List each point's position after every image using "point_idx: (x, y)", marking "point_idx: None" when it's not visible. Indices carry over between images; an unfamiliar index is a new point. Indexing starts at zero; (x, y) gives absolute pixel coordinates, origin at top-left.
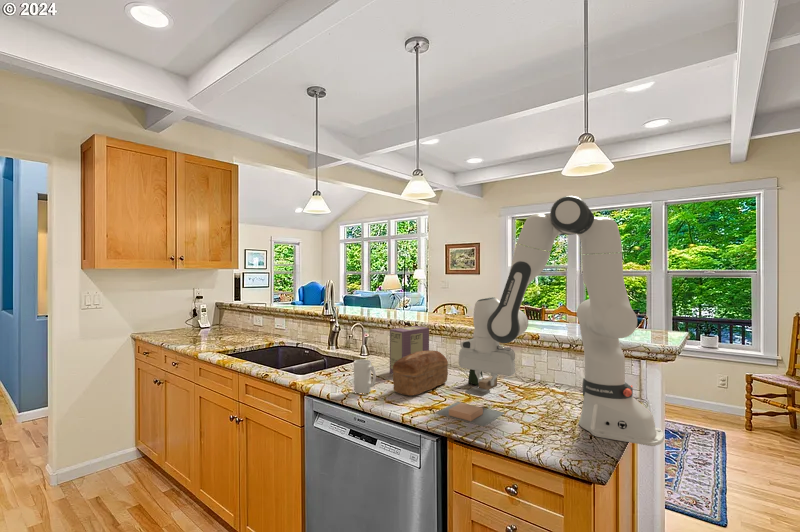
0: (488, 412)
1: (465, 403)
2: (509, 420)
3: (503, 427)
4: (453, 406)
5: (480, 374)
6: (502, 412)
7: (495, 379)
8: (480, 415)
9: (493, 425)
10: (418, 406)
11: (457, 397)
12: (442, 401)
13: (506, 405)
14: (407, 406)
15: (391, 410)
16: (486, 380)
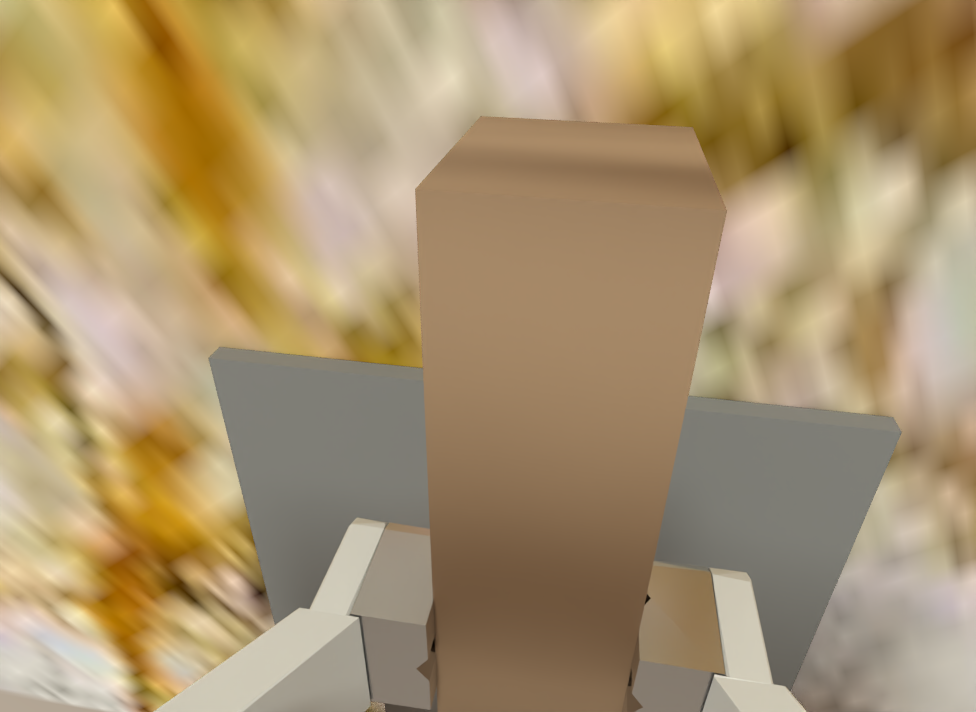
0: (688, 506)
1: (313, 371)
2: (970, 543)
3: (923, 690)
4: (286, 506)
5: (278, 690)
6: (859, 434)
7: (692, 336)
8: None
9: (819, 682)
10: (67, 572)
11: (36, 132)
12: (67, 375)
13: (843, 6)
14: (23, 601)
15: (40, 686)
16: (547, 672)
